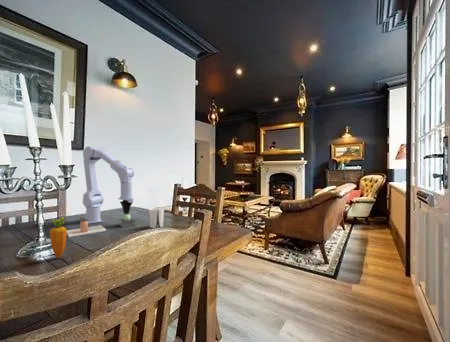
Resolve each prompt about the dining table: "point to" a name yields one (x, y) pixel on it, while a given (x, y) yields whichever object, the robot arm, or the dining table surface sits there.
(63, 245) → the carrot
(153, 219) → the white cup
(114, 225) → the dining table surface
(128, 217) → the button
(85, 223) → the marker
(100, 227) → the picture sheet
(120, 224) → the frame
